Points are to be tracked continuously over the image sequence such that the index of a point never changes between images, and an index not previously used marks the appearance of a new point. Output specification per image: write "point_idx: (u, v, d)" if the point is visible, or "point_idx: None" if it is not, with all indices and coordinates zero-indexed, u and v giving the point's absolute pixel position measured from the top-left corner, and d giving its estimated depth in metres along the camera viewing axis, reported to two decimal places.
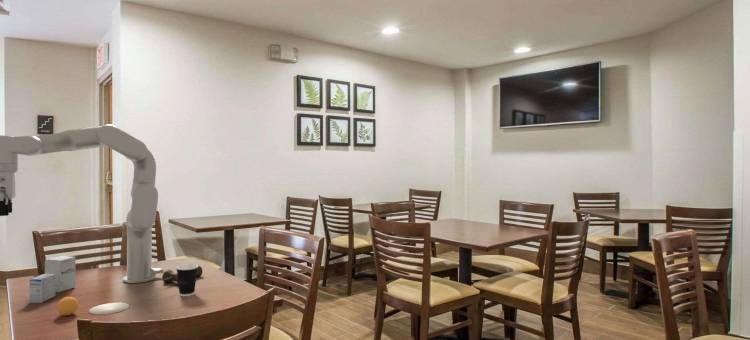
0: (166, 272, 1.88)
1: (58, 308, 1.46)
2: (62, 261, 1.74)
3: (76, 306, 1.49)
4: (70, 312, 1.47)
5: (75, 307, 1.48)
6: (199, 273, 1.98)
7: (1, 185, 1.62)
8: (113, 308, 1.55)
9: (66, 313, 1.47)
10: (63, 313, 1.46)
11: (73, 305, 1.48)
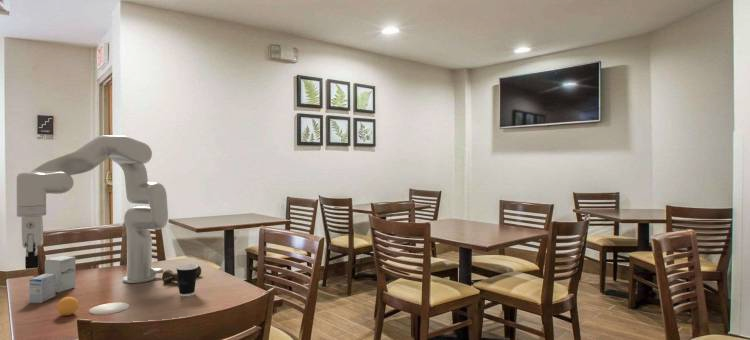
0: (166, 272, 1.88)
1: (58, 308, 1.46)
2: (62, 261, 1.74)
3: (76, 306, 1.49)
4: (70, 312, 1.47)
5: (75, 307, 1.48)
6: (198, 273, 1.99)
7: (28, 232, 1.39)
8: (113, 308, 1.55)
9: (66, 313, 1.47)
10: (63, 313, 1.46)
11: (73, 305, 1.48)
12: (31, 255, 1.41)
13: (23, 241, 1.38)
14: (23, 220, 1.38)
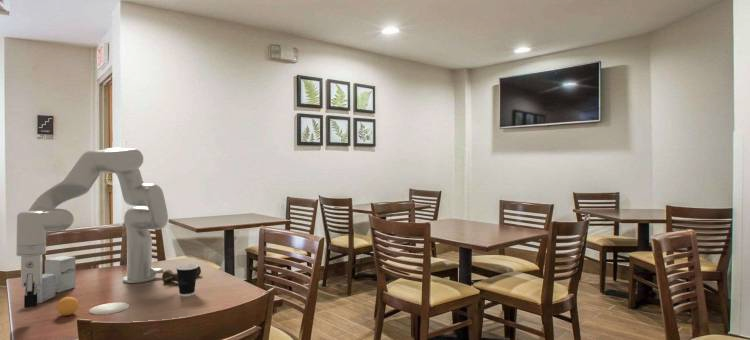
0: (166, 272, 1.88)
1: (58, 308, 1.46)
2: (62, 261, 1.74)
3: (76, 306, 1.49)
4: (70, 312, 1.47)
5: (75, 307, 1.48)
6: (198, 272, 1.99)
7: (28, 271, 1.39)
8: (113, 308, 1.55)
9: (66, 313, 1.47)
10: (63, 313, 1.46)
11: (73, 305, 1.48)
12: (30, 294, 1.42)
13: (22, 281, 1.38)
14: (23, 260, 1.39)
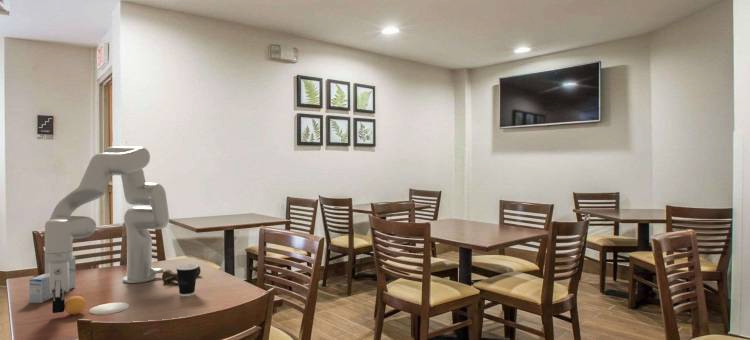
0: (166, 272, 1.88)
1: (67, 304, 1.47)
2: None
3: (82, 309, 1.50)
4: (74, 312, 1.48)
5: (81, 310, 1.49)
6: (197, 272, 1.99)
7: (56, 278, 1.43)
8: (113, 308, 1.55)
9: (71, 312, 1.47)
10: (68, 311, 1.47)
11: (81, 307, 1.49)
12: (58, 300, 1.46)
13: (51, 287, 1.42)
14: (51, 267, 1.43)
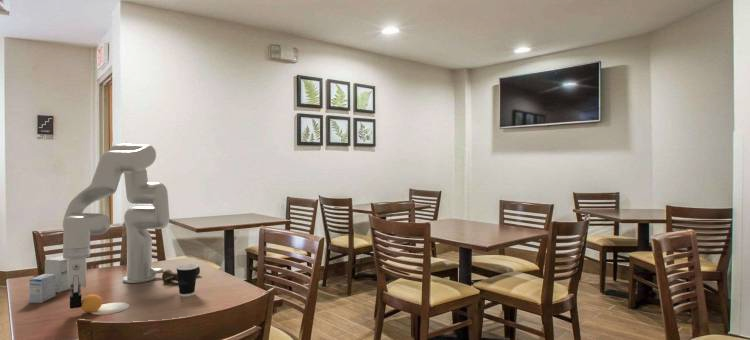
0: (166, 272, 1.88)
1: (89, 298, 1.50)
2: (62, 261, 1.74)
3: (93, 311, 1.51)
4: (87, 310, 1.49)
5: (92, 311, 1.51)
6: (197, 272, 2.00)
7: (74, 273, 1.45)
8: (113, 308, 1.55)
9: (85, 307, 1.49)
10: (84, 305, 1.49)
11: (95, 309, 1.51)
12: (75, 295, 1.48)
13: (69, 282, 1.44)
14: (69, 262, 1.45)
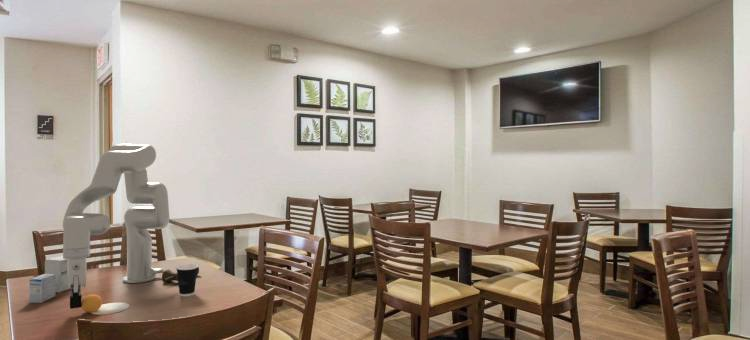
0: (165, 272, 1.88)
1: (89, 298, 1.50)
2: (62, 261, 1.74)
3: (94, 311, 1.51)
4: (87, 310, 1.49)
5: (93, 311, 1.51)
6: None
7: (74, 273, 1.45)
8: (113, 308, 1.55)
9: (85, 307, 1.49)
10: (84, 305, 1.49)
11: (95, 309, 1.51)
12: (75, 295, 1.48)
13: (69, 283, 1.44)
14: (69, 262, 1.45)
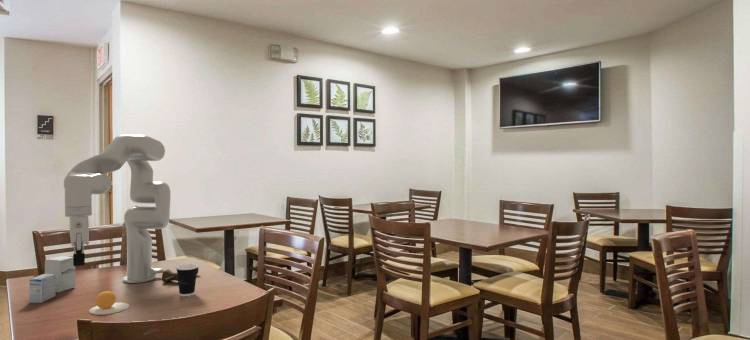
0: (165, 272, 1.88)
1: (113, 294, 1.57)
2: (62, 261, 1.74)
3: (100, 303, 1.53)
4: (102, 296, 1.54)
5: (101, 302, 1.53)
6: None
7: (77, 231, 1.46)
8: (113, 308, 1.55)
9: (105, 293, 1.54)
10: (107, 292, 1.55)
11: (104, 302, 1.53)
12: (79, 253, 1.49)
13: (72, 240, 1.45)
14: (72, 220, 1.45)
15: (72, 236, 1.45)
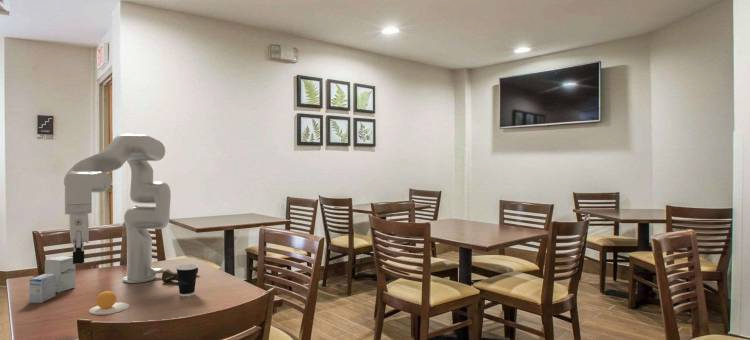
0: (165, 272, 1.88)
1: (114, 294, 1.57)
2: (62, 261, 1.74)
3: (100, 302, 1.53)
4: (103, 295, 1.54)
5: (101, 301, 1.53)
6: None
7: (77, 229, 1.46)
8: (113, 308, 1.55)
9: (106, 293, 1.55)
10: (108, 292, 1.55)
11: (104, 302, 1.53)
12: (78, 251, 1.49)
13: (72, 238, 1.45)
14: (72, 218, 1.45)
15: (72, 234, 1.45)
